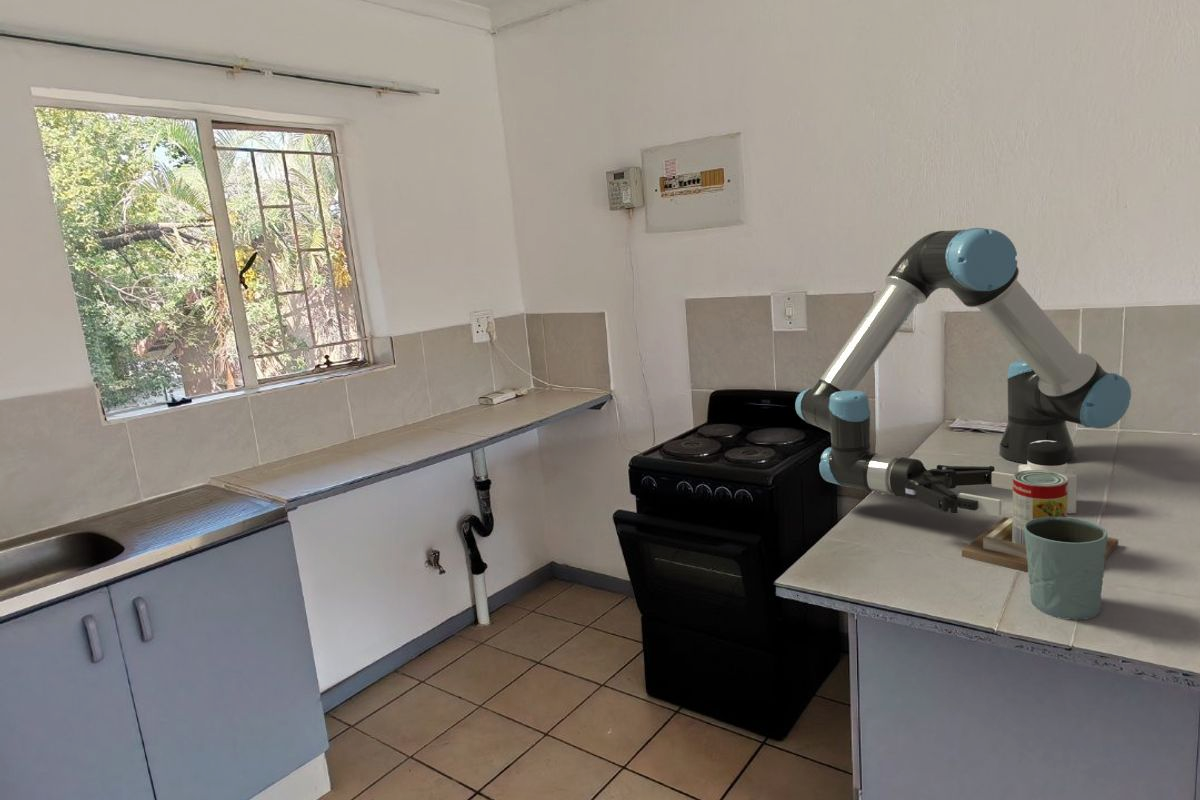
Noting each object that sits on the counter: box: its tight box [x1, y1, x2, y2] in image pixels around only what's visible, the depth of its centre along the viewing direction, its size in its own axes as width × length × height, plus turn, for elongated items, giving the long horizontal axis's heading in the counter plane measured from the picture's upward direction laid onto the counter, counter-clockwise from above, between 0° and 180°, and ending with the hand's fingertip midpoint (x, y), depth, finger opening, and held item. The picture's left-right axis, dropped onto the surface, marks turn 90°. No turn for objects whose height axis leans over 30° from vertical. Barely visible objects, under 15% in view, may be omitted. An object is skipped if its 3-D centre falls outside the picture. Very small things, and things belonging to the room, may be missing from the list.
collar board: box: [961, 515, 1119, 573], centre depth 125 cm, size 18×18×3 cm
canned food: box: [1012, 470, 1068, 545], centre depth 124 cm, size 8×8×12 cm
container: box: [1018, 440, 1078, 515], centre depth 141 cm, size 8×8×13 cm
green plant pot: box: [1024, 516, 1108, 620], centre depth 107 cm, size 10×10×12 cm
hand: (1016, 496), depth 126 cm, fingers open, 13 cm apart
